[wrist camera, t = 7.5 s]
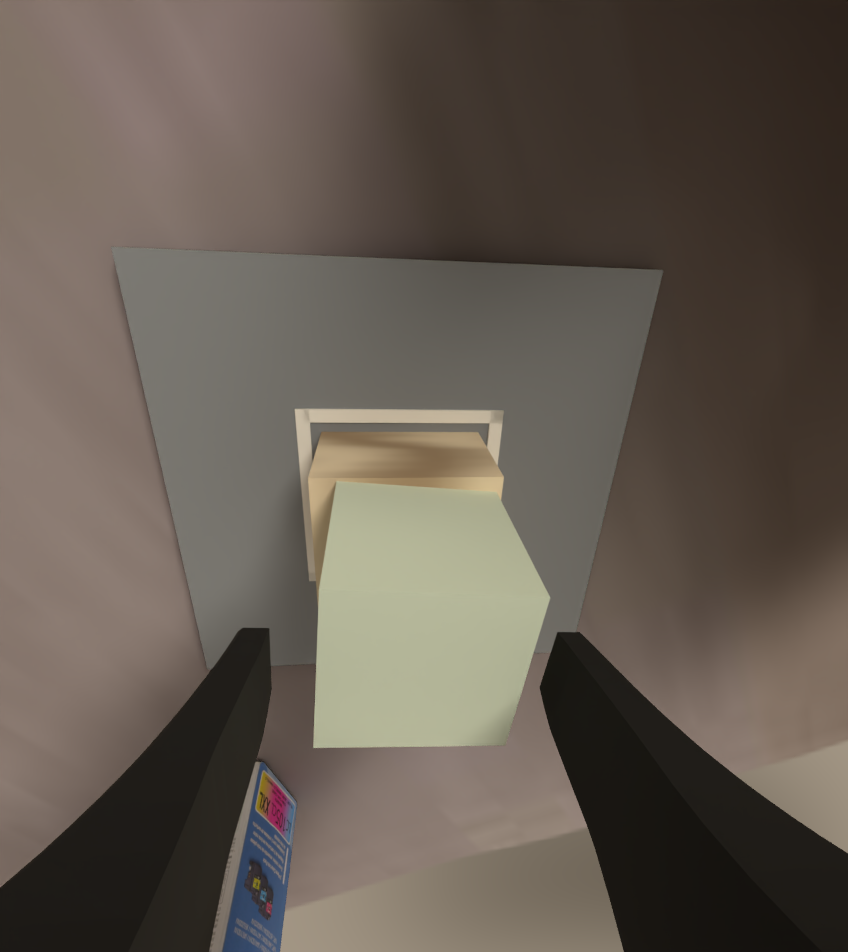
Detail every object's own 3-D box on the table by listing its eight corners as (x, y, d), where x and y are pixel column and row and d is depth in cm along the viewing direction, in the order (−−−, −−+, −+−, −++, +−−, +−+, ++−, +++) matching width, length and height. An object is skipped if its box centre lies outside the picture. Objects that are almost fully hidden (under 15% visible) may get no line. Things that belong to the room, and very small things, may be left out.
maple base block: (329, 562, 20) (319, 630, 16) (321, 431, 17) (307, 478, 14) (466, 558, 21) (485, 623, 17) (478, 431, 18) (503, 476, 14)
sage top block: (329, 609, 16) (313, 748, 12) (336, 481, 14) (319, 589, 9) (470, 613, 17) (505, 745, 12) (496, 492, 15) (550, 597, 10)
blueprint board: (211, 659, 23) (206, 670, 22) (120, 246, 15) (109, 246, 14) (567, 642, 24) (572, 653, 24) (653, 269, 17) (665, 270, 16)
